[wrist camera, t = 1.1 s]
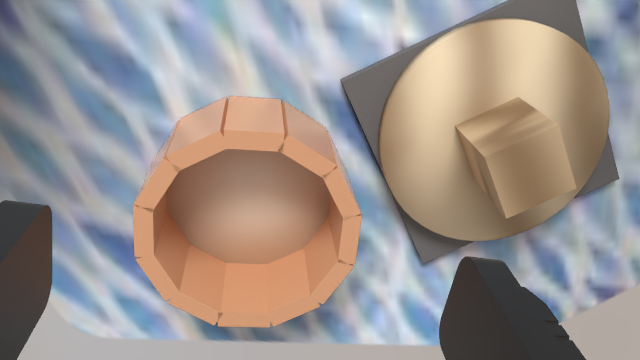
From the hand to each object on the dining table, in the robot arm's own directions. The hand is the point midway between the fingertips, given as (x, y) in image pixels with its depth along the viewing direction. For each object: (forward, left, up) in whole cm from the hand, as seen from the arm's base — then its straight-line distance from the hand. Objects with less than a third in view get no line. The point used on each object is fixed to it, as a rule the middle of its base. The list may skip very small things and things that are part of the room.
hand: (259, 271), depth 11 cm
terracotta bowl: (+5, +8, -24) cm, 25 cm away
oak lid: (-10, +11, -23) cm, 27 cm away
